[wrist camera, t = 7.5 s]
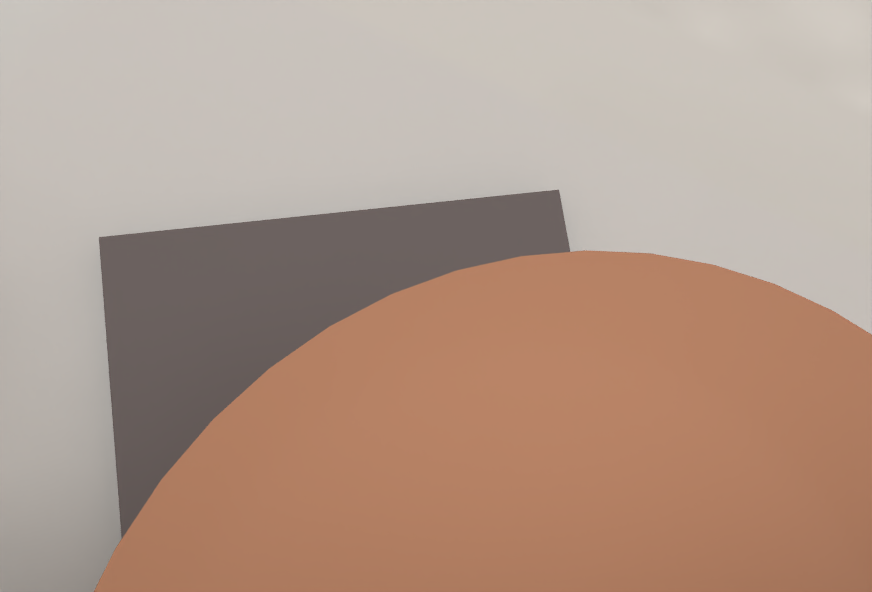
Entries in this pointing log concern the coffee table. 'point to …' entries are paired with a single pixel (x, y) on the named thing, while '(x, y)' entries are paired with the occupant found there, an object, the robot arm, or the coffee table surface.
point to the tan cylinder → (535, 444)
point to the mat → (270, 304)
